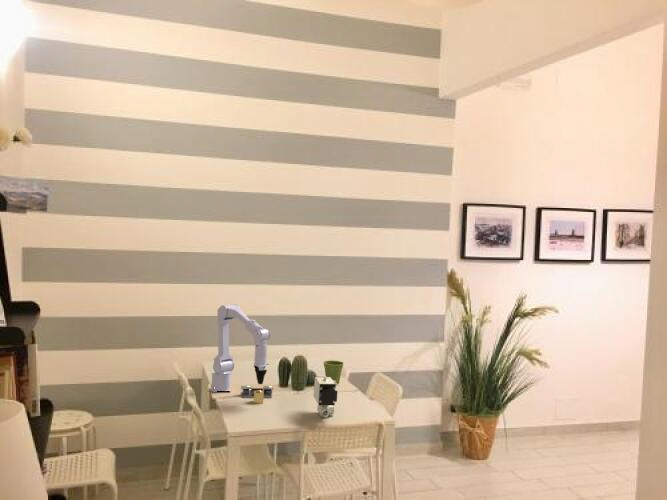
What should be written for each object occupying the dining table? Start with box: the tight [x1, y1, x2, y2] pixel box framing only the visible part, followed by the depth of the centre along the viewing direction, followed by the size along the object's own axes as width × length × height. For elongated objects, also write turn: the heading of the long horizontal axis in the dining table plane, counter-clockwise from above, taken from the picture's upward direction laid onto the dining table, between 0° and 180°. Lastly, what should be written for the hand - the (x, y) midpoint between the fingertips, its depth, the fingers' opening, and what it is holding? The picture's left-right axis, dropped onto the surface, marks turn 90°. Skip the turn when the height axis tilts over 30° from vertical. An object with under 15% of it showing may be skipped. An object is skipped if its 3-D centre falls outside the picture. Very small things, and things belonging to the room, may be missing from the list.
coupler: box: [253, 390, 264, 404], centre depth 291 cm, size 4×4×6 cm
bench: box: [240, 385, 274, 399], centre depth 303 cm, size 16×10×5 cm, turn 100°
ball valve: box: [313, 375, 338, 418], centre depth 277 cm, size 18×8×18 cm, turn 11°
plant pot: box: [322, 360, 345, 384], centre depth 336 cm, size 12×12×11 cm
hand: (259, 382), depth 291 cm, fingers open, 7 cm apart
